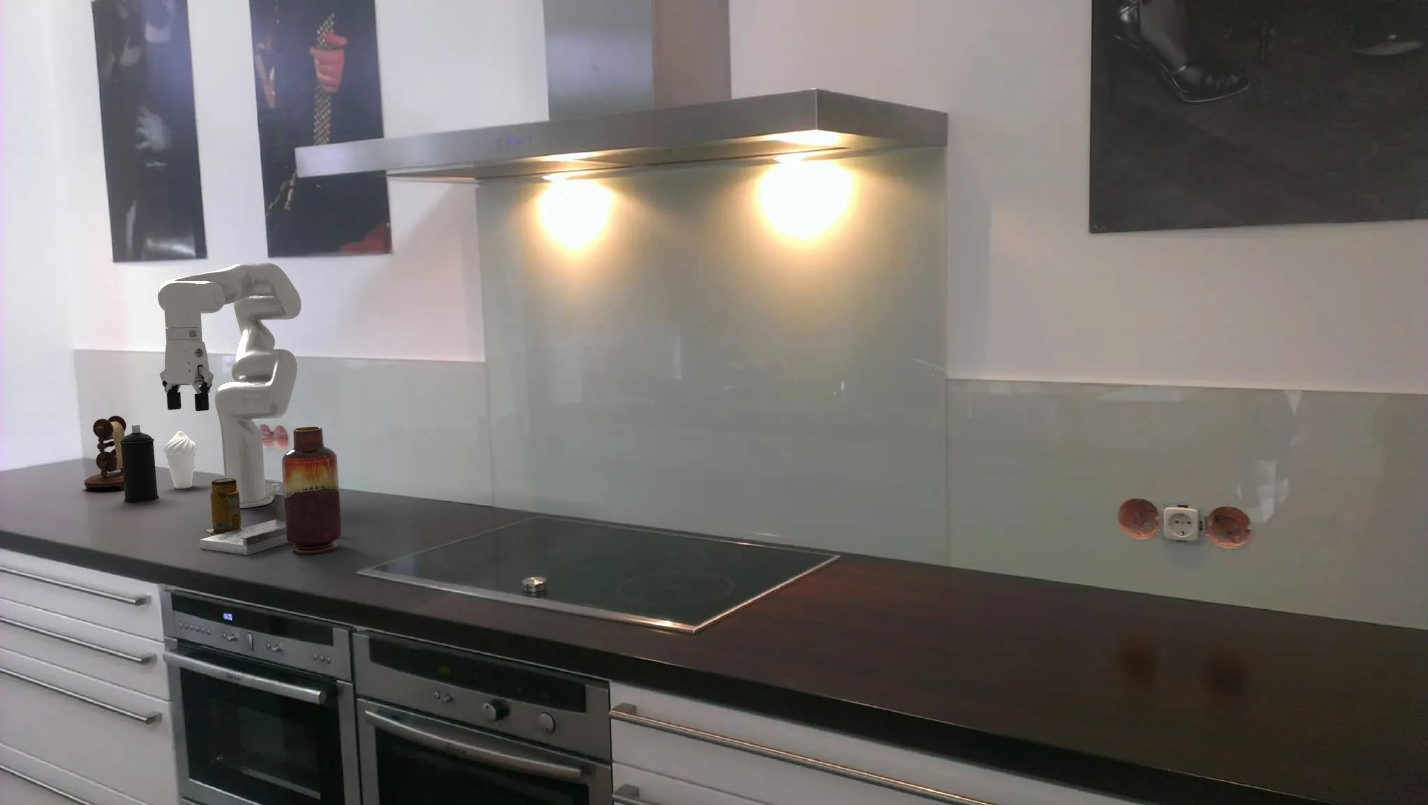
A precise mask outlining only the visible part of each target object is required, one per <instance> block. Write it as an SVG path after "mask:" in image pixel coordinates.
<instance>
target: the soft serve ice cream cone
mask: <svg viewBox="0 0 1428 805" xmlns="http://www.w3.org/2000/svg"><path fill="white" fill-rule="evenodd" d="M197 447H198V446H197V443H196V442H195V441H193V440H191V439H190V438H189V436H188V435H187V434H186V433H185V432H184V431H182V430H179V431H177V432H176V433H175V434H174V436H173V437H172V438H171V439H170V440H169V441H168V442H166V443H165V445H164V446H163V452H164V453H165V455H166V459H167V465H168V471H169V473H170V477H171V480H172V483H173V486H174V489H178V490H179V489H189V488H191V487H192V485H193V478H194V471H195V468H196V467H195V457H196V451H197V449H198V448H197Z"/></svg>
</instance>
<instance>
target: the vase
mask: <svg viewBox="0 0 1428 805" xmlns="http://www.w3.org/2000/svg"><path fill="white" fill-rule="evenodd" d="M292 430H293V431H292V432H293V434H292V435H293V438H292V439H293V448H292V449H290V450H289V451H287V452H285V454H284V455H283V456H282V459H281V469H282V470H281V472H282V486H283V487H282V488H283V494H284V506H285V521H286V534H287V540H288V541H289V543H291V544H294V546H293V547H292V550H291V551H292V552H293V553H294V554H297V555H318V554H324V553H330V552H332V551H335V550H336V549H338V544H337V543H336V542H335V541H336V540H338V539H339V538H340V537H341V535H342V520H341V518H342V517H341V516H342V515H341V502H340V499H341V498H340V483H339V481H340V480H339V468H338V466H339V464H338V456H337V454H336V453H335V452H334V450H333V449H331V448H329V447H326V446H325V444H324V434H323V433H324V432H323V427H321V426H304V427H296V428H293V429H292Z"/></svg>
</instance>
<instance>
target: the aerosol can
mask: <svg viewBox="0 0 1428 805" xmlns="http://www.w3.org/2000/svg"><path fill="white" fill-rule="evenodd" d="M154 441H155V438H152V436H151V435H149V434H147V433H143V432H141V424H138V423H137V424H132V425H131V432H130V433H129V434H125V437H124V438H123V439H122V440H121V441H120V442H119V443H120V444H121V454H122V467H123V479H124V489H123V492H124V499H123V501H124V502H125V503H143V502H144V503H145V502H149V501H150V500H151V501H154V500H157V499H159V497H160V496H159V494H158V485H157V483H158V482H157V473H156V472H157V469H156V458H155V446H154Z"/></svg>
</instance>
